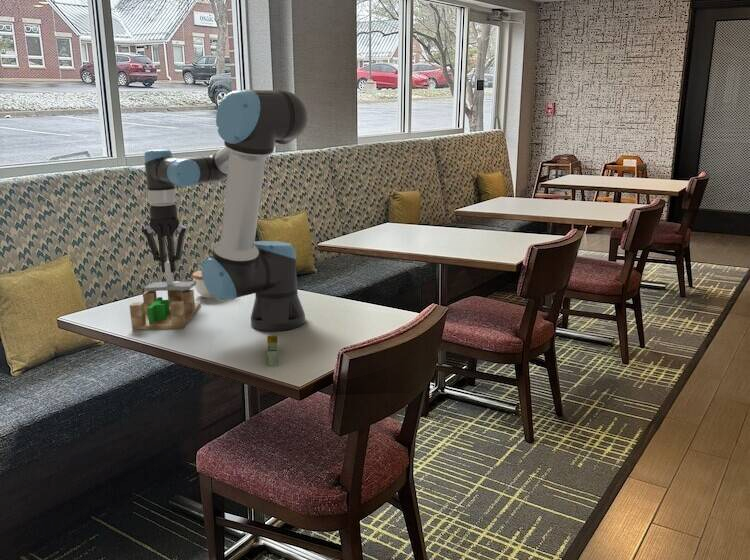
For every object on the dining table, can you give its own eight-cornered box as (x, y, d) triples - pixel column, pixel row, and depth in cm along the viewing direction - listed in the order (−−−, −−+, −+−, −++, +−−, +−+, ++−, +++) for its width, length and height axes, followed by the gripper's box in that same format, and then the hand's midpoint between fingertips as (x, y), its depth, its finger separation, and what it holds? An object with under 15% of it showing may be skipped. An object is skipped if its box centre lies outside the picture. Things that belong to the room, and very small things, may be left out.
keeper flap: (196, 284, 207) (196, 280, 207) (189, 290, 198) (188, 286, 198) (153, 285, 207) (153, 281, 207) (144, 291, 198) (143, 287, 198)
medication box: (278, 366, 160) (278, 350, 159) (266, 367, 160) (266, 351, 159) (278, 349, 172) (277, 334, 171) (267, 350, 171) (266, 334, 170)
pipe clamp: (162, 323, 190) (161, 307, 189) (149, 323, 190) (147, 308, 189) (172, 311, 201) (171, 296, 200) (159, 311, 201) (158, 296, 200)
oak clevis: (200, 305, 210) (198, 283, 208) (183, 328, 189) (180, 304, 187) (154, 306, 210) (152, 285, 208) (132, 329, 188) (129, 305, 187)
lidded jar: (224, 299, 216) (222, 271, 214) (191, 300, 216) (188, 271, 214) (231, 290, 226) (229, 263, 224) (198, 291, 226) (196, 264, 224)
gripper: (188, 201, 200) (195, 279, 206) (143, 202, 200) (151, 280, 206) (182, 205, 193) (189, 285, 199) (135, 206, 193) (144, 286, 199)
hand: (170, 283), depth 202 cm, fingers closed
